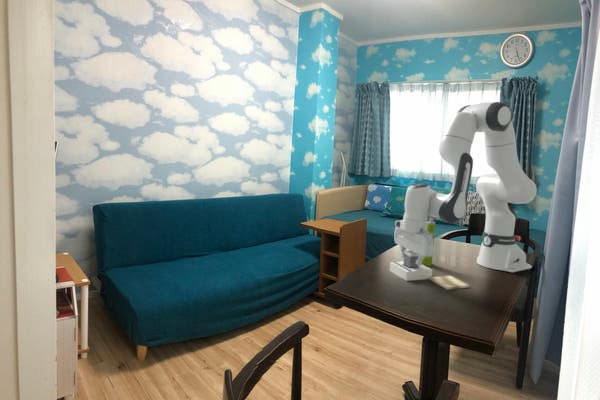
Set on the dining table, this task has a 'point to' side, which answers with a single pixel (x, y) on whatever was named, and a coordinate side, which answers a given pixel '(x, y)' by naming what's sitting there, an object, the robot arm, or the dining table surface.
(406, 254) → the plug
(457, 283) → the coaster
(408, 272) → the white flat square piece
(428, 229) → the vape
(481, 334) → the dining table surface
